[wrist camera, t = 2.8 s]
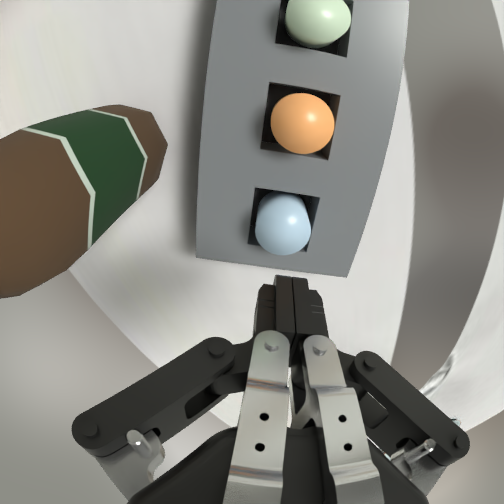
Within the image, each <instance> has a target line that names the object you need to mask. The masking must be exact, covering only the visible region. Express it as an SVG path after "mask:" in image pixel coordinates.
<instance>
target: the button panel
mask: <svg viewBox="0 0 504 504" xmlns="http://www.w3.org/2000/svg"><path fill="white" fill-rule="evenodd" d="M287 1H289V0H287ZM343 1H344V2H345V4H346V5H347V7H348V8H349V11H350V14H351V23H350V26H349V28H348V30H347V31H346V32H345V33H344V34H343V35H342V36H341V37H340V38H339V46H338V53H337V55H334V54H330V53H325V52H321V51H316V50H311V49H306V48H301V47H295V46H289V45H283V44H275V40H276V33H277V26H278V19H279V12H280V6H281V0H217V4H216V10H215V16H214V22H213V29H212V36H211V43H210V51H209V59H208V67H207V75H206V84H205V94H204V104H203V115H202V127H201V141H200V155H199V172H198V193H197V222H196V258H202V259H210V260H217V261H224V262H231V263H238V264H246V265H253V266H261V267H268V268H276V269H283V270H291V271H299V272H306V273H314V274H322V275H330V276H338V277H346V278H347V276H348V273H349V270H350V268H351V265H352V262H353V260H354V257H355V254H356V251H357V248H358V245H359V243H360V240H361V237H362V234H363V231H364V228H365V225H366V222H367V218H368V215H369V212H370V209H371V206H372V202H373V199H374V196H375V192H376V189H377V185H378V182H379V178H380V174H381V171H382V167H383V163H384V159H385V155H386V151H387V147H388V143H389V139H390V134H391V130H392V125H393V120H394V115H395V110H396V105H397V100H398V94H399V89H400V83H401V76H402V70H403V63H404V55H405V46H406V37H407V26H408V11H409V10H408V9H409V0H343ZM269 84H275V85H282V86H288V87H294V88H300V89H305V90H311V91H316V92H320V93H325V94H329V95H331V97H330V103H329V108H330V110H331V112H332V114H333V118H334V131H333V135H332V137H331V139H330V141H329V142H328V143H327V144H326V145H325V146H324V147H323V148H321V151H316V152H313V153H309V154H298V153H294V152H291V151H289V150H287V149H285V148H284V147H283V146H281V145H280V144H277V143H270V142H263V141H262V134H263V126H264V119H265V112H266V104H267V97H268V90H269ZM255 187H256V188H264V189H271V190H278V191H284V192H291V193H297V194H303V195H309V196H311V200H310V204H309V209H308V213H307V215H308V218H309V222H310V226H311V234H310V238H309V240H308V242H307V244H306V245H305V246H304V247H303V248H302V249H301V250H299V251H298V252H296V253H293V254H290V255H276V254H272V253H270V252H268V251H266V250H265V249H264V248H263V247H262V246H261V245H260V244H259V242H258V241H257V238H256V234H255V228H256V226H251V225H250V223H251V215H252V208H253V200H254V193H255Z"/></svg>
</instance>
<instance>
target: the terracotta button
mask: <svg viewBox="0 0 504 504" xmlns="http://www.w3.org/2000/svg"><path fill="white" fill-rule="evenodd" d="M271 129H272V132H273V135H274V137H275V139H276V140H277V141H278V143H279V144H280V145H281V146H283V147H284V148H285V149H287V150H289V151H291V152H294V153H298V154H309V153H313V152H316V151H318V150H320V149H321V148H323V147H324V146H325V145H326V144H327V143H328V142H329V141H330V139H331V137H332V135H333V131H334V118H333V114H332V112H331V110H330V108H329V107H328V106H327V104H326V103H325V102H324V101H322V100H321V99H320V98H318V97H316V96H314V95H311V94H306V93H294V94H289V95H286V96H284V97H282V98H281V99H280V100H278V102H277V103H276V104H275V105H274V107H273V109H272V113H271Z"/></svg>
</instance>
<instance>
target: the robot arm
mask: <svg viewBox="0 0 504 504" xmlns="http://www.w3.org/2000/svg"><path fill="white" fill-rule="evenodd" d="M288 367H291V375H290V378H289V381H288V383H289V387H287V379H288ZM243 391H244V394H243V399H242V405H241V410H240V415H239V419H238V424H237V427H232V428H228V429H226V430H223V431H220V432H218V433H216V434H215V435H213V436H212V437H210V438H209V439H208V440H207V441H205V442H204V443H203V444H202V445H201V446H199V447H198V448H197V449H196V450H194V451H193V452H192V453H191V454H189V455H188V456H187V457H186V458H184V459H183V460H182V461H180V462H179V463H178V464H177V465H175V466H174V467H173V468H171V469H170V470H169V471H167V472H166V473H164V474H163V475H162V476H160V477H159V478H157V479H156V480H155V481H154V480H153V475H154V472H155V470H156V468H157V467H158V466H159V465H160V464H161V463H162V462H163V460H164V458H165V451H164V448H163V446H162V444H163V443H164V442H165V441H167V440H168V439H170V438H171V437H173V436H174V435H175V434H177V433H178V432H180V431H181V430H183V429H184V428H186V427H187V426H188V425H190V424H191V423H192V422H194V421H195V420H197V419H198V418H199V417H201V416H202V415H203V414H205V413H206V412H207V411H209V410H210V409H211V408H213V407H214V406H215V405H216V404H218V403H219V402H220V401H222V400H223V399H224V398H225V397H227V396H228V394H231V393H237V392H243ZM367 392H369V393H370V394H371V395H372V396H373V397H374V398H375V399H376V400H377V401H378V402H379V403H380V404H381V405H382V406H384V407H385V408H386V409H387V410H386V409H385V408H383V407H382V406H381V405H380V404H379V403H378V402H377V401H376V400H375V399H374V398H373V397H372V396H371V395H370V394H368V393H367ZM289 394H290V403H291V413H292V422H291V427H290V428H289V427H287V419H288V407H289ZM72 435H73V437H74V439H75V441H76V442H77V443H78V444H79V445H80V446H82V447H83V448H84V449H85V450H86V451H87V452H88V453H89V454H90V455H92V456H93V457H94V458H96V460H97V461H98V462H99V464H100V465H101V467H102V468H103V470H104V471H105V472H106V474H107V475H108V476H109V478H110V479H111V480H112V482H113V483H114V484H115V485H116V487H117V488H118V489H119V490H120V492H121V493H122V494H123V495H124V496H125V498H126V499H127V500H128V503H127V504H429V502H428V500H427V497H426V496H427V495H428V493H429V492H430V491H431V489H432V488H433V486H434V485H435V484H436V482H437V481H438V479H439V478H440V476H441V475H442V473H443V472H444V470H445V469H446V467H447V466H448V465H450V464H452V463H454V462H455V461H457V460H459V459H460V458H462V457H464V456H465V455H466V454H467V452H468V450H469V446H470V441H469V438H468V435H467V434H466V433H465V432H464V431H463V430H462V429H461V428H460V427H459V426H458V425H456V424H455V423H454V422H453V421H452V420H451V419H450V418H449V417H448V416H446V415H445V414H444V413H443V412H442V411H441V410H440V409H439V408H437V407H436V406H435V405H434V404H433V403H432V402H431V401H430V400H428V399H427V398H426V397H425V396H424V395H423V394H422V393H420V392H419V391H418V390H417V389H416V388H415V387H414V386H412V385H411V384H410V383H409V382H408V381H407V380H406V379H405V378H403V377H402V376H401V375H400V374H399V373H398V372H397V371H395V370H394V369H393V368H392V367H391V366H390V365H389V364H388V363H386V362H385V361H384V360H383V359H382V358H381V357H380V356H378V355H377V354H375V353H373V352H370V351H362V352H360V353H358V354H357V355H356V357H355V356H352V355H349V354H346V353H343V352H341V351H339V350H338V349H336V346H335V344H334V343H333V341H332V340H330V339H329V336H328V330H327V324H326V318H325V314H324V308H323V302H322V298H321V296H320V295H319V294H318V292H317V291H316V290H309V287H308V281H307V279H306V278H298V277H290V276H282V275H275V279H274V283H273V285H268V284H263V285H262V287H261V288H260V289H259V292H258V297H257V303H256V309H255V315H254V327H253V337H252V339H250V340H249V341H247V342H245V343H241V344H234V345H232V343H231V342H229V341H228V340H226V339H224V338H220V337H211V338H207V339H205V340H203V341H202V342H200V343H199V344H197V345H196V346H194V347H193V348H191V349H189V350H188V351H186V352H185V353H183V354H182V355H180V356H178V357H177V358H175V359H174V360H172V361H170V362H169V363H167V364H166V365H164V366H162V367H161V368H159V369H157V370H156V371H154V372H153V373H151V374H149V375H148V376H146V377H144V378H143V379H141V380H139V381H138V382H136V383H134V384H132V385H131V386H129V387H127V388H126V389H124V390H122V391H121V392H119V393H117V394H115V395H114V396H112V397H110V398H108V399H107V400H105V401H103V402H101V403H100V404H98V405H96V406H94V407H92V408H90V409H89V410H87V411H85V412H83V413H81V414H80V415H79V416H77V417H76V418H75V420H74V421H73V424H72ZM366 435H367V436H368V437H369V438H370V439H371V440H372V441H373V442H374V443H375V444H376V445H377V446H378V447H379V448H381V449H382V450H383V451H384V452H385V453H386V454H387V455H388V456H389V457H390V458H391V459H390V460H389V459H388V458H387V457H386V456H385V455H384V454H383V453H382V452H381V451H380V450H379V449H378V448H377V447H376V446H375V445H374V444H373V443H372V442H371V441H370V440H369V439H368V438H367V437H366Z"/></svg>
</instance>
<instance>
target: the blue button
mask: <svg viewBox="0 0 504 504" xmlns="http://www.w3.org/2000/svg"><path fill="white" fill-rule="evenodd" d="M255 234H256V238H257V241H258V242H259V244H260V245H261V246H262V247H263V248H264V249H265V250H266V251H268V252H270V253H272V254H276V255H290V254H293V253H296V252H298V251H299V250H301V249H302V248H303V247H304V246H305V245H306V244H307V242H308V240H309V238H310V234H311V226H310V222H309V218H308V215H307V211H306V207H305V204H304V202H303V200H302V199H301V198H300V197H299V196H298V195H297V194H295V193H291V192H284V191H278V190H276V191H272V192H270V193H268V194H267V195H266V196H264V197H263V198H262V200H261V201H260V203H259V206H258V210H257V219H256V228H255Z"/></svg>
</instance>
